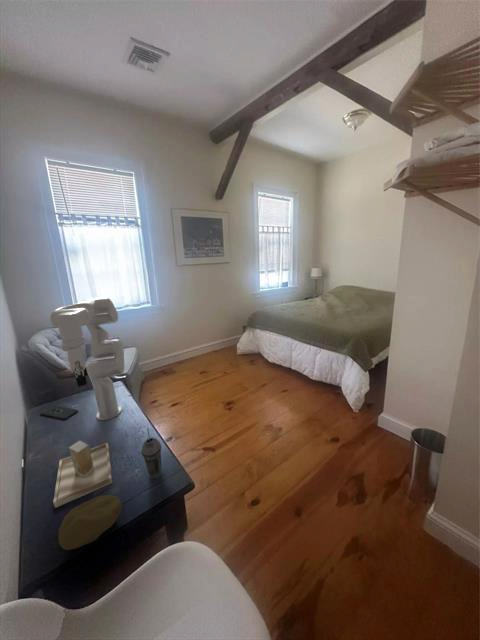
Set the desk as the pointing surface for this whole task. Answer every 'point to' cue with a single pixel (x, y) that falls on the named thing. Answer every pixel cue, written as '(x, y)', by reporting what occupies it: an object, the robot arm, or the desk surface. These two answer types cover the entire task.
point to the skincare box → (81, 458)
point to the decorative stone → (88, 521)
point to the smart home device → (59, 412)
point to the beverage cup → (152, 456)
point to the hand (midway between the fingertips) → (82, 380)
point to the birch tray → (77, 486)
